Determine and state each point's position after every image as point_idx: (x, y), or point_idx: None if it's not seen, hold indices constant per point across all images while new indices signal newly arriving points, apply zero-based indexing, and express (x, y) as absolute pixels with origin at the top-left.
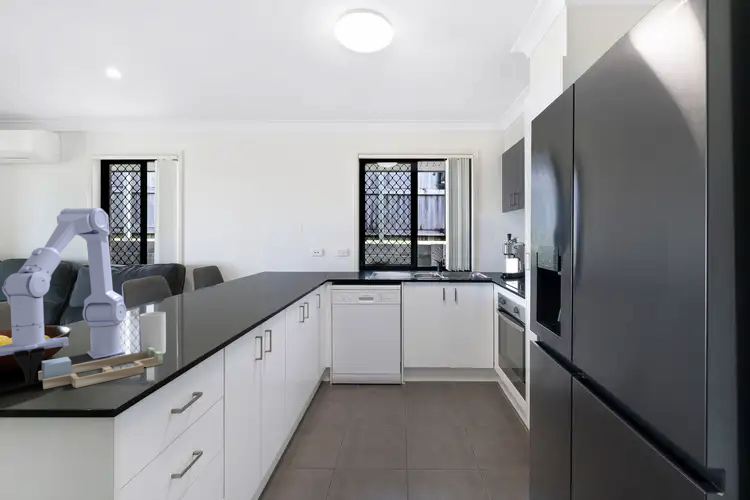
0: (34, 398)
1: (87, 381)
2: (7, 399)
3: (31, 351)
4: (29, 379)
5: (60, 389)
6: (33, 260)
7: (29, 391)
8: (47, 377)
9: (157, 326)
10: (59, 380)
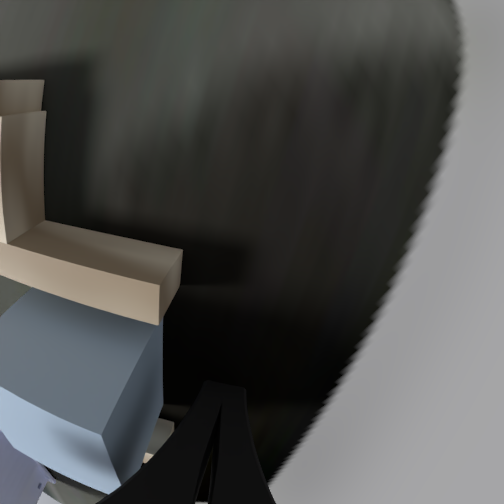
0: (296, 66)
1: None
2: (408, 240)
3: None
4: (228, 403)
5: (105, 137)
6: None
7: (260, 294)
8: (126, 348)
9: None
10: (73, 249)
